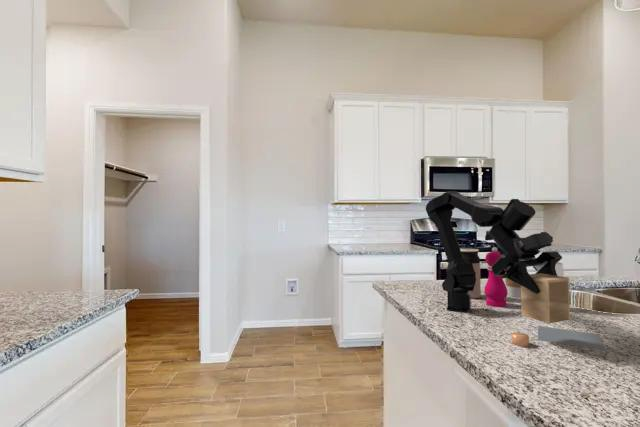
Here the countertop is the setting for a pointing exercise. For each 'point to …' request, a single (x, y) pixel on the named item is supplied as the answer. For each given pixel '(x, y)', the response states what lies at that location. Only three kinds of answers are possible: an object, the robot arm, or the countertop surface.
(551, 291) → the cover box
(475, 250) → the travel mug
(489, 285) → the pepper mill
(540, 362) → the countertop surface
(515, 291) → the coffee cup
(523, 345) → the glossy peach egg
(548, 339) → the slate mat
